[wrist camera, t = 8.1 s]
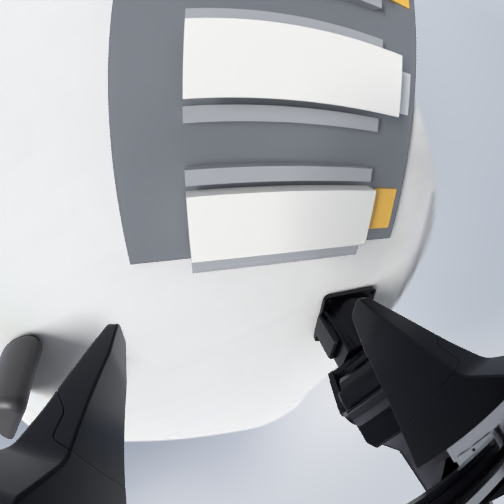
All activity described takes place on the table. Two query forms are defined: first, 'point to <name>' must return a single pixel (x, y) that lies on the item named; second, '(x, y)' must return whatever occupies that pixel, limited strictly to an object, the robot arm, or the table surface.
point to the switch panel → (244, 123)
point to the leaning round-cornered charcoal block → (16, 381)
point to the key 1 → (276, 219)
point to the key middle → (287, 65)
